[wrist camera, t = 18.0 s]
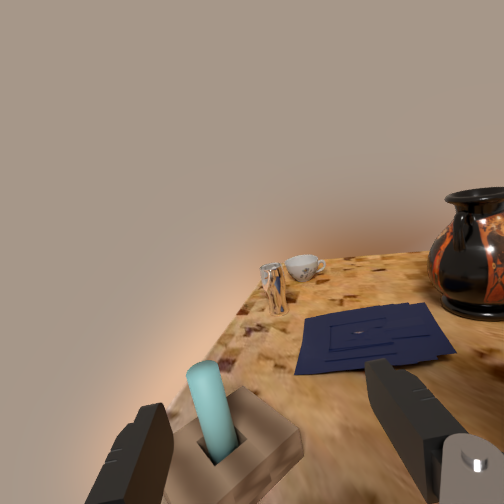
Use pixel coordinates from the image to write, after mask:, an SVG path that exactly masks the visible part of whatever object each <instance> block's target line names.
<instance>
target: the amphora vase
mask: <svg viewBox="0 0 504 504" xmlns="http://www.w3.org/2000/svg"><path fill="white" fill-rule="evenodd" d="M445 201H446V202H447V203H450V204H453V205H455V209H456V215H455V216H454V219H453V221H452V222H451V223H450V224H449V225H448V226H447V227H446V228H445V229H444V230H443V231H442V232H441V233H440V234H439V235H438V237H437V238H436V239H435V241H434V243H433V245H432V247H431V249H430V252H429V255H428V262H427V269H428V275H429V278H430V280H431V282H432V284H433V285H434V287H435V288H436V289H437V290H438V291H439V292H441V293H442V296H441V299H440V300H441V303H442V305H443V306H444V307H445V308H446V309H447V310H448V311H450V312H452V313H454V314H456V315H459V316H462V317H466V318H470V319H475V320H484V321H500V320H504V187H489V188H479V189H472V190H465V191H460V192H456V193H452V194H449V195H448V196H446V197H445Z"/></svg>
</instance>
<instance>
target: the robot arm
mask: <svg viewBox="0 0 504 504" xmlns="http://www.w3.org/2000/svg"><path fill="white" fill-rule="evenodd" d="M364 366H365V374H366V382H367V390H368V397H369V401H370V404H371V407H372V409H373V411H374V413H375V415H376V417H377V419H378V420H379V422H380V424H381V425H382V427H383V429H384V431H385V432H386V434H387V436H388V437H389V439H390V441H391V442H392V444H393V446H394V448H395V449H396V451H397V453H398V454H399V456H400V458H401V460H402V461H403V463H404V465H405V466H406V468H407V470H408V472H409V473H410V475H411V477H412V478H413V480H414V482H415V484H416V485H417V487H418V489H419V490H420V492H421V494H422V495H423V497H424V499H425V501H426V502H427V504H433V503H438V502H439V504H504V452H501V451H500V450H499V449H498V448H497V447H495V446H494V445H493V444H491V443H490V442H488V441H487V440H485V439H483V438H480V437H478V436H475V435H471V434H469V433H468V432H467V431H466V430H465V429H464V428H463V427H462V425H461V424H460V423H459V422H458V421H457V420H456V419H455V418H454V417H453V416H452V415H451V413H450V412H449V411H448V410H447V409H446V408H445V407H444V406H443V405H442V404H441V403H440V401H439V400H438V399H437V398H435V396H434V395H433V394H432V393H431V392H430V390H429V389H428V390H427V387H426V386H425V385H424V384H423V383H422V382H421V381H420V380H419V378H418V377H417V376H415V375H413V374H411V373H410V372H408V371H406V370H404V369H400V370H395V369H394V368H393V367H392V365H391V364H390V363H389V362H388V361H387V360H386V359H385V358H381V359H376V360H371V361H367V362H365V365H364ZM173 452H174V437H173V432H172V429H171V426H170V423H169V420H168V417H167V414H166V411H165V408H164V405H163V404H162V403H156V404H151V405H146V406H142V407H141V408H140V409H139V411H138V414H137V416H136V418H135V420H134V423H129V424H128V425H127V426H126V427H125V428H124V429H123V430H122V431H121V432H120V434H119V435H118V436H117V438H116V440H115V442H114V444H113V446H112V448H111V452H110V453H109V454H108V456H107V458H106V460H105V464H104V465H103V466H102V469H101V471H100V473H99V475H98V477H97V479H96V481H95V483H94V485H93V487H92V489H91V491H90V493H89V495H88V497H87V499H86V501H85V504H161V501H162V497H163V493H164V488H165V484H166V480H167V476H168V472H169V468H170V464H171V460H172V456H173Z"/></svg>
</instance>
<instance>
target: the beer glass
mask: <svg viewBox="0 0 504 504" xmlns="http://www.w3.org/2000/svg"><path fill="white" fill-rule="evenodd" d="M260 272H261V280H262V285H263V288H264V291H265V293H266V296H267V298H268V301H269V312H270V315H272V316H276V317H277V316H283V315H285V314H287V313H288V312H289V308H288V305H287V302H286V296H285V277H284V272H283V269H282V265H281V263H269V264H265V265H263V266H261V267H260Z"/></svg>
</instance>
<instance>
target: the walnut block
mask: <svg viewBox="0 0 504 504" xmlns="http://www.w3.org/2000/svg"><path fill="white" fill-rule="evenodd" d="M226 398H227V402H228V406H229V410H230V414H231V417H232V421H233V425H234V429H235V433H236V437H237V440H238V444H239V447H238V448H237V449H235V450H234V451H233V452H232V453H231V454H229V455H228V456H227V457H226V458H224V459H223V460H222V461H221V462H220V463H218V464H217V465H216V466H214V465H213V464H212V462H211V459H210V456H209V453H208V449H207V446H206V442H205V439H204V435H203V432H202V429H201V425H200V422H199V418H198V417H197V418H196V419H194V420H193V421H191V422H190V423H188V424H187V425H185V426H184V427H182V428H181V429H180V430H178V431H177V432H175V433H174V434H173V437H174V452H173V456H172V460H171V464H170V468H169V472H168V476H167V480H166V484H165V488H164V493H163V495H164V497H165V499H166V501H167V503H168V504H256V503H257V502H258V501H259V500H260V499H261V498H262V497H263V496H264V495H265V494H266V493H267V492H268V491H269V490H270V489H271V488H272V487H273V486H274V485H275V484H276V483H277V482H278V481H279V480H280V479H281V478H282V477H283V476H284V475H285V474H286V473H287V472H288V471H289V470H290V469H291V468H292V467H293V466H294V465H295V464H296V463H297V462H298V461H299V460H300V459H301V458H302V457H303V456H304V453H303V448H302V443H301V438H300V433H299V428H298V427H296V426H295V425H294V424H292V423H291V422H290V421H288V420H287V419H286V418H285V417H283V416H282V415H281V414H279V413H278V412H277V411H275V410H274V409H273V408H272V407H270V406H269V405H268V404H266V403H265V402H264V401H262V400H261V399H260V398H259V397H257V396H256V395H255V394H253V393H252V392H251V391H249V390H248V389H247V388H246V387H244V386H242V387H240V388H239V389H238V390H236V391H235V392H233V393H232V394H230V395H229V396H227V397H226Z"/></svg>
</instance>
